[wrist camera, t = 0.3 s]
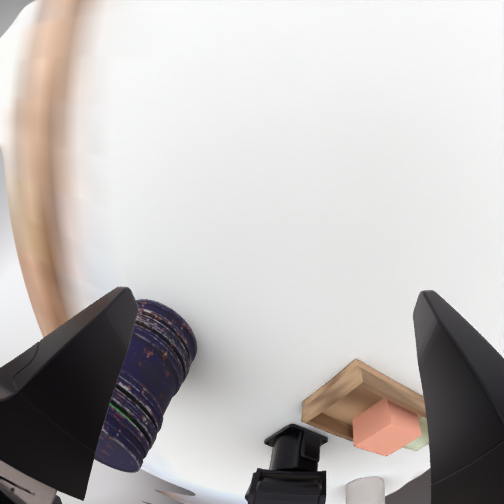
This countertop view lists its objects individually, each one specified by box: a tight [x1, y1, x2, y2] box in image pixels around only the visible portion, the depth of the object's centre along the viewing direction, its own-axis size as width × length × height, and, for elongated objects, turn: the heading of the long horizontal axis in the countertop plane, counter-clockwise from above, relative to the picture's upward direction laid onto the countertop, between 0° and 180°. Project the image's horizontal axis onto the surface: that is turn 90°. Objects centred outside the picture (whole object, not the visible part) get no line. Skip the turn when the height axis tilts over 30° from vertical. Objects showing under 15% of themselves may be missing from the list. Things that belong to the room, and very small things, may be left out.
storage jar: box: [94, 299, 197, 473], centre depth 24 cm, size 10×10×15 cm
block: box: [352, 398, 422, 456], centre depth 27 cm, size 6×6×4 cm
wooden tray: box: [301, 359, 429, 451], centre depth 28 cm, size 9×23×3 cm, turn 58°
